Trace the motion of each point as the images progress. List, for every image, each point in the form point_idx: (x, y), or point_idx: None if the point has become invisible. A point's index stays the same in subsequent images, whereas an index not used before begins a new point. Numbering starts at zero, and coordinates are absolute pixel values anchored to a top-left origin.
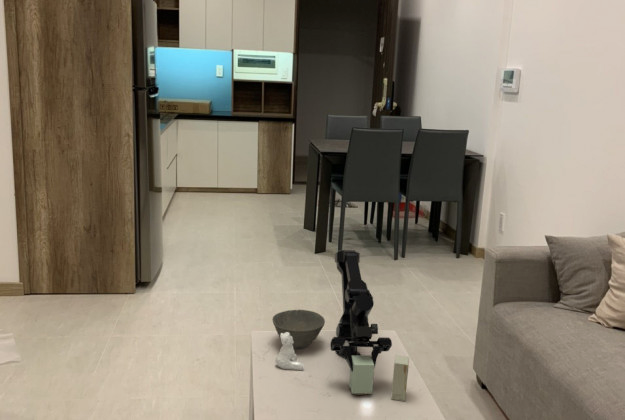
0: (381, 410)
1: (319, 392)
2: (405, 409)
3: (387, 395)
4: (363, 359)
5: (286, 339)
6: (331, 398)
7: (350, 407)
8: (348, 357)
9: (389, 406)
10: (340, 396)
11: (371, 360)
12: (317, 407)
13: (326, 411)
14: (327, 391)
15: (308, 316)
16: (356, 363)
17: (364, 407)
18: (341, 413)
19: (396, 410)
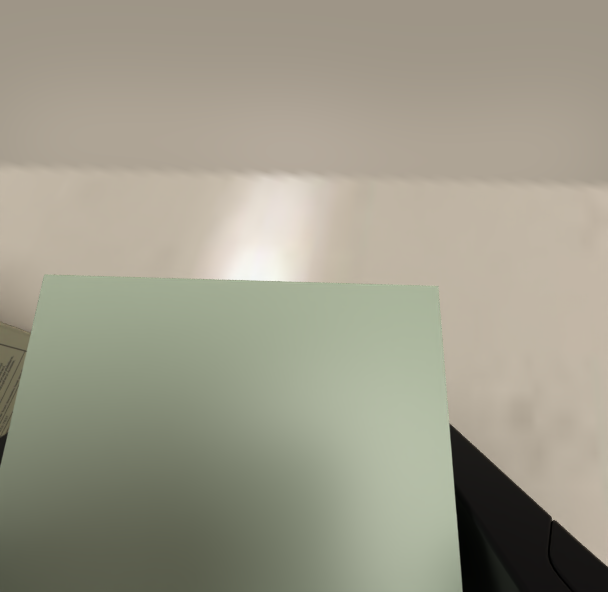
0: (174, 213)
1: (604, 462)
2: (5, 219)
3: None
4: (196, 536)
5: None
6: (505, 369)
7: (376, 252)
8: (584, 557)
9: (101, 256)
10: None
11: (23, 479)
12: (598, 258)
13: (536, 213)
14: (539, 478)
15: None
16: (386, 344)
17: (280, 249)
18: (441, 190)
19: (72, 210)
